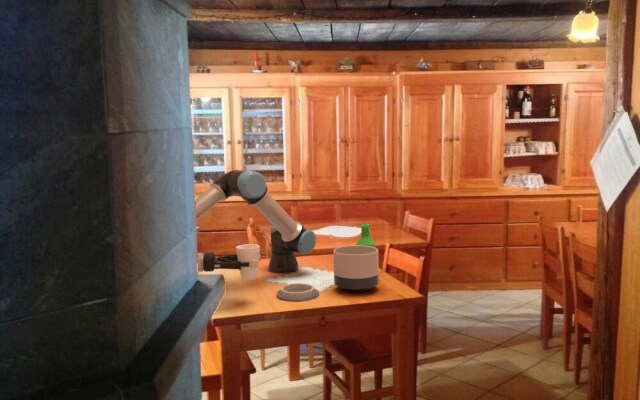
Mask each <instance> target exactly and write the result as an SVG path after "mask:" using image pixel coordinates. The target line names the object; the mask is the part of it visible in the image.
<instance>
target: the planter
mask: <svg viewBox="0 0 640 400" xmlns="http://www.w3.org/2000/svg"><path fill="white" fill-rule="evenodd" d="M332 251H333V284H334V285H335V286H336V287H338V288H340V289H343V290H345V291H347V292H350V293H363V292H366V291H369V290H370V289H372V288H375V287H377V286H378V285H379V281H380V279H379V278H380V277H379V275H380V274H379V270H380V268H379V249H378V247H376V246H375V247H371V246H363V245H356V244H351V245H343V246H339V247H336V248H334V249H333V250H332Z"/></svg>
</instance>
